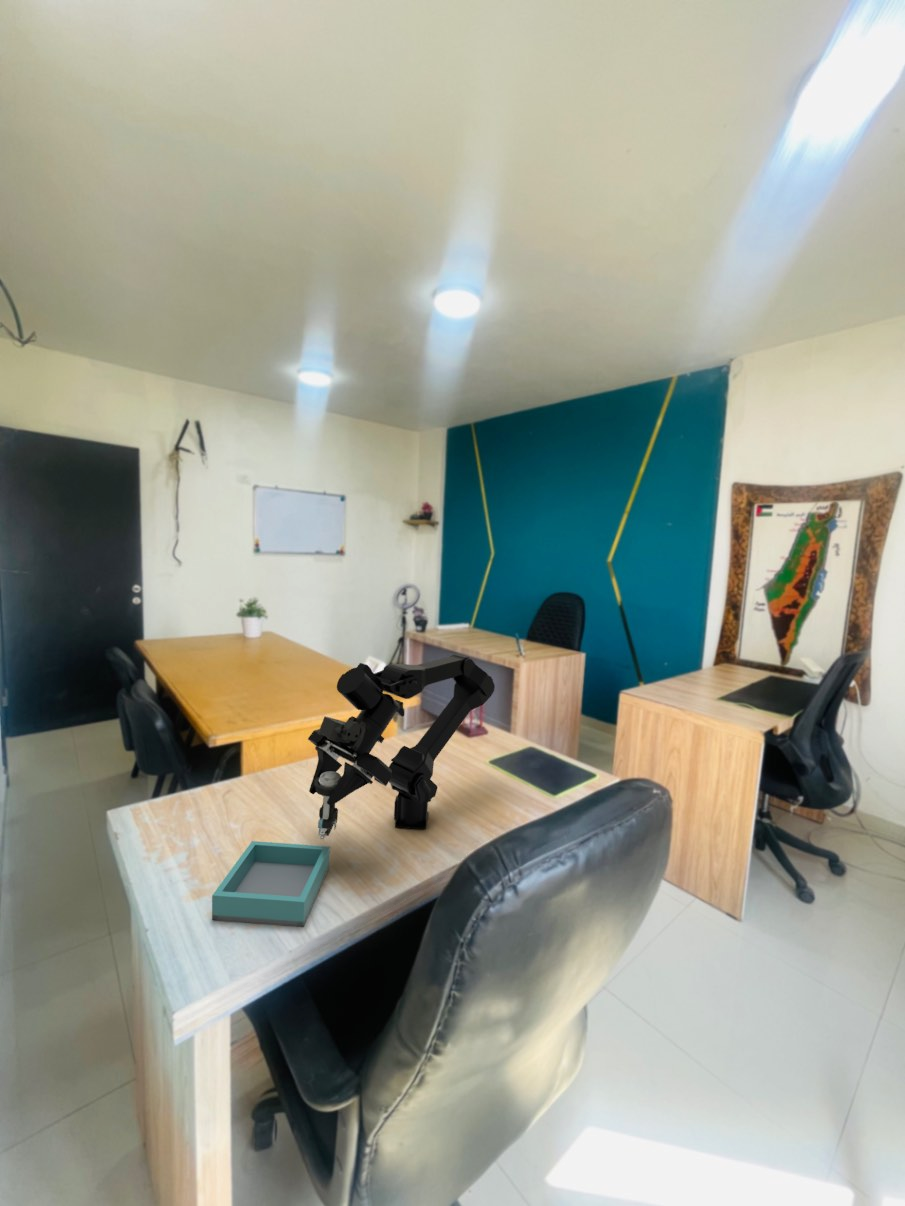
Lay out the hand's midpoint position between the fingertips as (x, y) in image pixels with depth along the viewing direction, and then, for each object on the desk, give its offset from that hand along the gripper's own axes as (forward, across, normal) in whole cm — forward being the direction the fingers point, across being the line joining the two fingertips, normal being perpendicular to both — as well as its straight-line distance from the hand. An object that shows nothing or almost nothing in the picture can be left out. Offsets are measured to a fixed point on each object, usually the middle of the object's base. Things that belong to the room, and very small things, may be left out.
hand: (319, 798), depth 87 cm
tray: (+15, 0, +3) cm, 15 cm away
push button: (+4, 0, +6) cm, 7 cm away
